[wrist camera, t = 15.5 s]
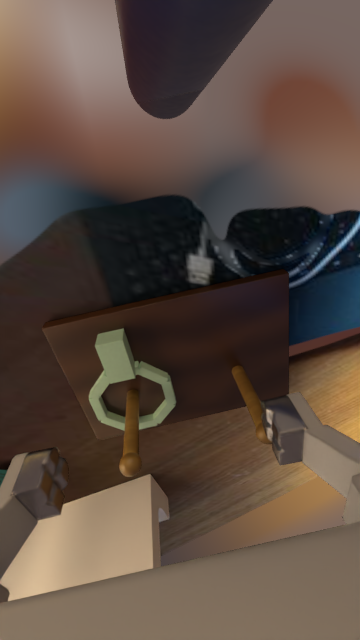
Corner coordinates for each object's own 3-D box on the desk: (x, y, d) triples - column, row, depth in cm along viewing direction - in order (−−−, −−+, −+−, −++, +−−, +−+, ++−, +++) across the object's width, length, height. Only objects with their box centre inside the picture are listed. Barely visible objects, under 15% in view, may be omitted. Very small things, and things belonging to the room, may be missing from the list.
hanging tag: (65, 341, 32) (60, 353, 30) (155, 321, 32) (156, 332, 30) (107, 430, 39) (105, 445, 37) (179, 413, 39) (182, 427, 37)
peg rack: (45, 322, 32) (-5, 402, 21) (283, 268, 33) (355, 319, 22) (99, 432, 41) (84, 527, 30) (284, 389, 42) (335, 468, 31)
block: (150, 473, 47) (159, 801, 23) (167, 497, 51) (192, 800, 27) (-34, 538, 50) (-203, 898, 25) (-3, 556, 53) (-125, 884, 29)
